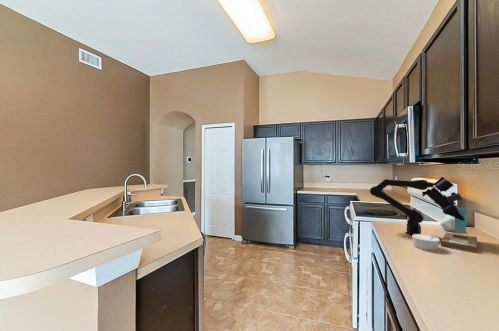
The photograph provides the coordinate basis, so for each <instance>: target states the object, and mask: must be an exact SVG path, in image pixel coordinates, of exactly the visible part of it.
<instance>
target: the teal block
mask: <svg viewBox="0 0 499 331" xmlns="http://www.w3.org/2000/svg"><path fill="white" fill-rule="evenodd" d="M457 211H458V212H459V213H460V214H461V216H462V217H463V218H464V219H465V220H464V221H462V220H460V219H457V218H455V217H453V219H454V226H455V232H456V233H463V234H464V233H465V234H466V233H467V208H466V207H458V206H457Z"/></svg>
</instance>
